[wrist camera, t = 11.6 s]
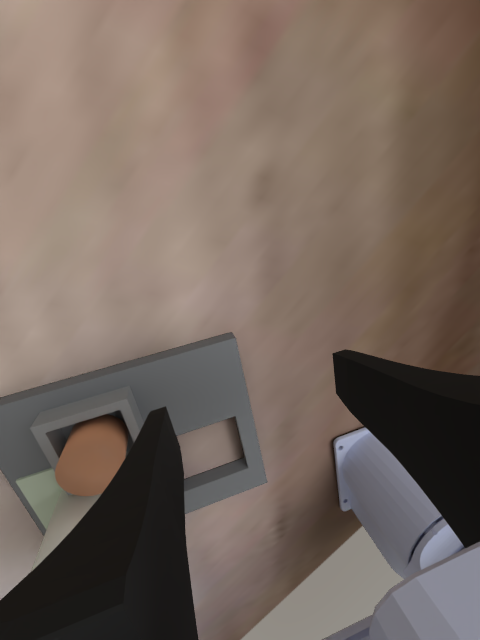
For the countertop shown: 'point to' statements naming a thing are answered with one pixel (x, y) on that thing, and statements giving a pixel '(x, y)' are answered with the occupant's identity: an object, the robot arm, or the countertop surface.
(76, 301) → the countertop surface
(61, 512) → the cartridge
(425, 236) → the countertop surface
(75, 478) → the orange round piece
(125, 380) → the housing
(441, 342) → the countertop surface
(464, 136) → the countertop surface
